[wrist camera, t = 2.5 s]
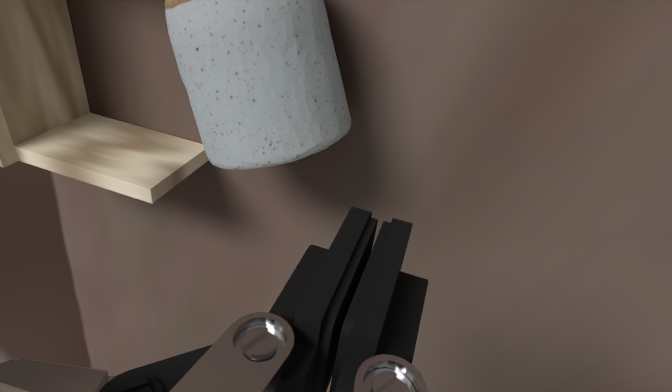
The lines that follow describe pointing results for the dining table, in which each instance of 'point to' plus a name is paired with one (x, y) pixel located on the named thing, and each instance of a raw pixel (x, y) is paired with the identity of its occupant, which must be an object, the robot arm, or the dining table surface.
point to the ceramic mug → (259, 78)
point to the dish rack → (74, 112)
